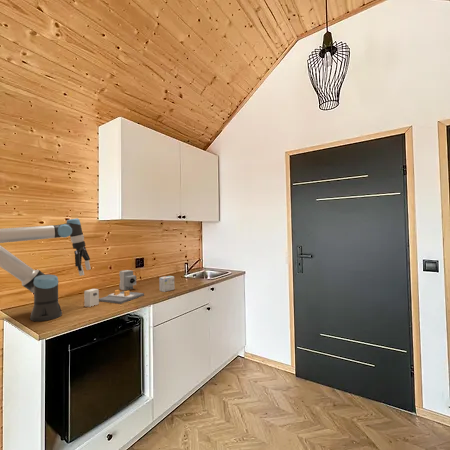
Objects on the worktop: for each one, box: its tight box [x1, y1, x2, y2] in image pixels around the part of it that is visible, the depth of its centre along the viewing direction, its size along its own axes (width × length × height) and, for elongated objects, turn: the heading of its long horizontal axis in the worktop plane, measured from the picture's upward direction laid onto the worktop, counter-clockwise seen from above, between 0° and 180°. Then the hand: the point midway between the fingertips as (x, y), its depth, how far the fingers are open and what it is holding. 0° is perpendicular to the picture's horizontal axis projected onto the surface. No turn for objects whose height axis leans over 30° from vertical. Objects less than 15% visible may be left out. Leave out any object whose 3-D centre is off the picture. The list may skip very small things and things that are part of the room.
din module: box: [83, 288, 100, 308], centre depth 180 cm, size 7×6×10 cm
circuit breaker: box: [118, 269, 137, 291], centre depth 225 cm, size 8×14×15 cm, turn 53°
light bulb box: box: [158, 275, 175, 293], centre depth 221 cm, size 11×7×11 cm, turn 141°
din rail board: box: [99, 289, 145, 305], centre depth 197 cm, size 24×20×5 cm
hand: (85, 272), depth 184 cm, fingers open, 13 cm apart
